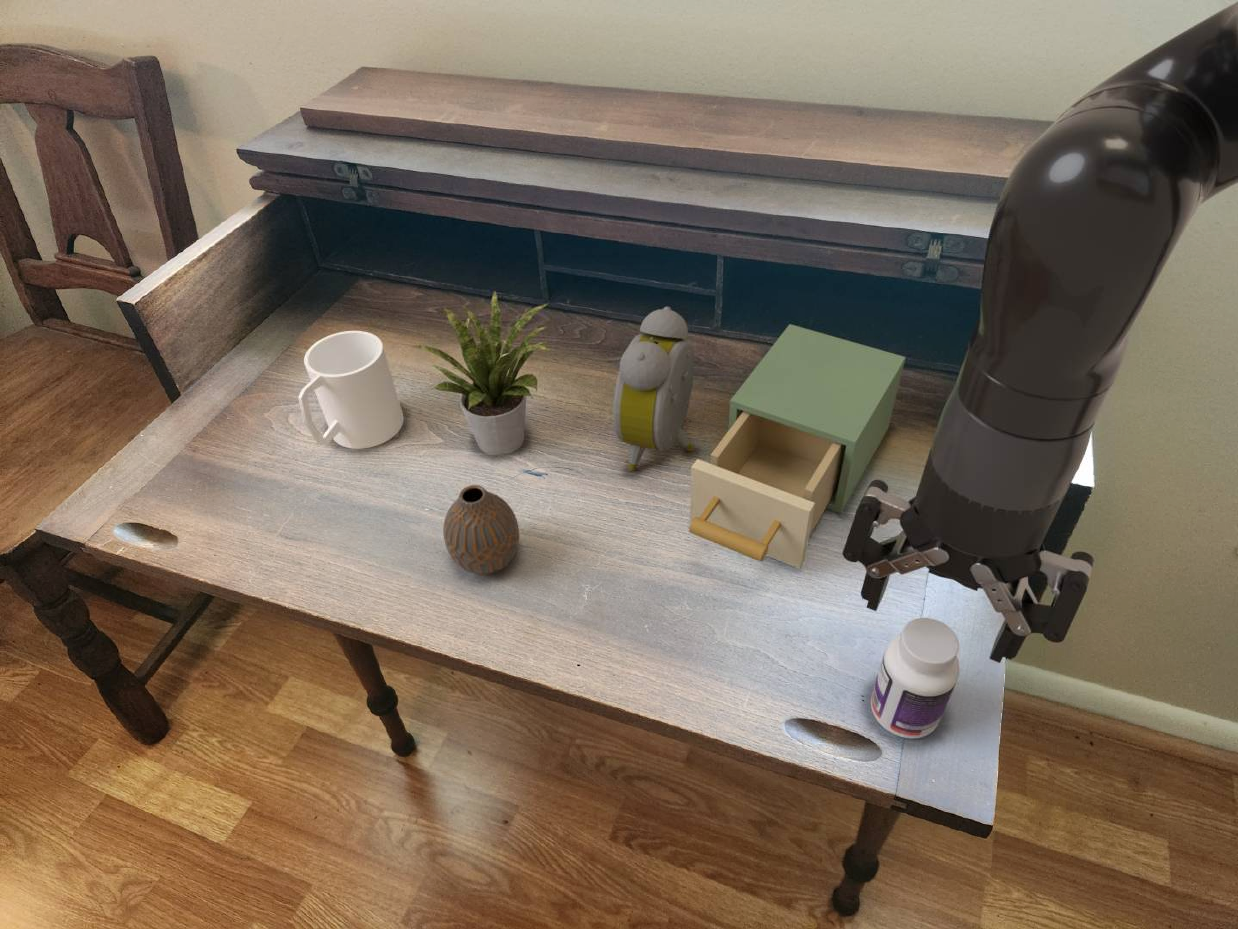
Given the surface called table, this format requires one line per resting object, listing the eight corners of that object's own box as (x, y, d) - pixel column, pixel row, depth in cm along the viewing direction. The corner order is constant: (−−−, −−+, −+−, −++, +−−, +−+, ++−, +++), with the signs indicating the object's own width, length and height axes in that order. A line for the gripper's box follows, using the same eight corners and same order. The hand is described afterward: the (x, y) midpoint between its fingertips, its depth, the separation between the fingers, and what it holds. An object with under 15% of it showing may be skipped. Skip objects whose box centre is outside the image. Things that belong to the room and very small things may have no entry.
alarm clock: (650, 406, 95) (647, 293, 85) (707, 418, 93) (712, 303, 83) (614, 474, 87) (606, 359, 77) (676, 488, 85) (677, 372, 75)
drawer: (780, 604, 73) (788, 547, 68) (667, 555, 78) (666, 498, 72) (851, 478, 84) (864, 420, 79) (748, 441, 89) (753, 384, 83)
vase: (498, 519, 83) (484, 456, 77) (537, 560, 79) (526, 496, 73) (438, 554, 80) (419, 491, 74) (475, 598, 76) (458, 535, 70)
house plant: (596, 413, 94) (587, 289, 83) (545, 496, 85) (526, 369, 74) (486, 388, 99) (462, 267, 87) (425, 465, 89) (390, 340, 78)
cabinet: (840, 514, 82) (856, 442, 75) (725, 470, 87) (730, 400, 80) (888, 428, 91) (905, 356, 84) (781, 393, 96) (789, 323, 89)
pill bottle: (953, 711, 66) (985, 641, 59) (913, 754, 64) (941, 686, 57) (895, 667, 69) (920, 597, 62) (855, 707, 67) (876, 638, 60)
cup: (293, 460, 91) (262, 388, 84) (359, 395, 99) (336, 324, 92) (354, 479, 88) (327, 406, 81) (417, 410, 96) (397, 339, 89)
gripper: (856, 456, 48) (818, 623, 59) (1129, 550, 42) (1029, 714, 53) (897, 385, 52) (854, 552, 63) (1148, 460, 47) (1052, 629, 58)
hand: (934, 625), depth 58 cm, fingers open, 8 cm apart
